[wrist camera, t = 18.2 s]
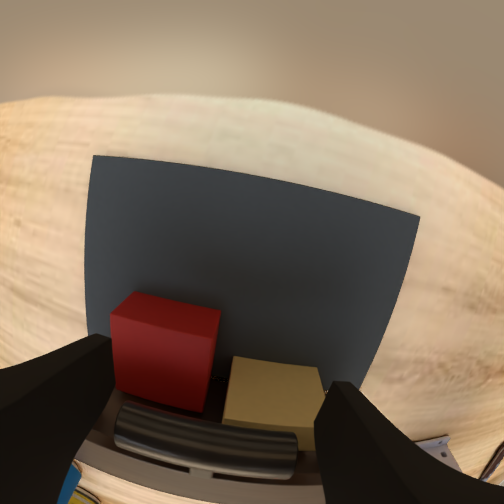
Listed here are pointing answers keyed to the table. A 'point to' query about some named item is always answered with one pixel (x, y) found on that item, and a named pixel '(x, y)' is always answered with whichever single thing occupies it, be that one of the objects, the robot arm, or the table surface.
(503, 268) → the table surface
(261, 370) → the packet cream
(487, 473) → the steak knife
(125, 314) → the packet red
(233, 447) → the dark brown open box
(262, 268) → the mat
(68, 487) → the beverage can
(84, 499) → the pill bottle
